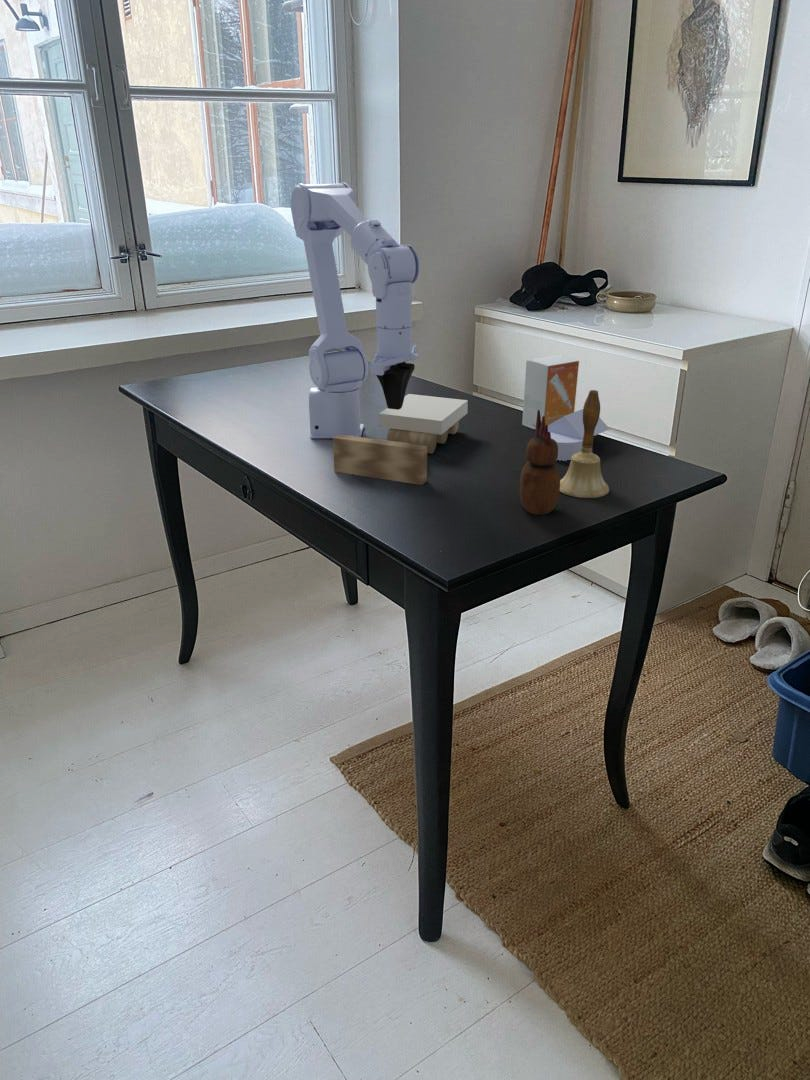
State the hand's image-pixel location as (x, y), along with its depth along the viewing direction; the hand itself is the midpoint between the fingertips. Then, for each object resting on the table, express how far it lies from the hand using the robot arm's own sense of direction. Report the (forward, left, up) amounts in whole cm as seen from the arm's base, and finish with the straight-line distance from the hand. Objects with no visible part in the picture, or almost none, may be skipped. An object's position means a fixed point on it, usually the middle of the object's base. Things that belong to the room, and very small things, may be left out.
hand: (394, 408), depth 137 cm
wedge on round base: (+31, +9, -10) cm, 33 cm away
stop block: (-2, -6, -10) cm, 12 cm away
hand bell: (+31, -10, -10) cm, 34 cm away
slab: (+5, +13, -6) cm, 15 cm away
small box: (+29, +23, -10) cm, 38 cm away
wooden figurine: (+23, -19, -10) cm, 31 cm away
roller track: (+3, +9, -10) cm, 13 cm away
